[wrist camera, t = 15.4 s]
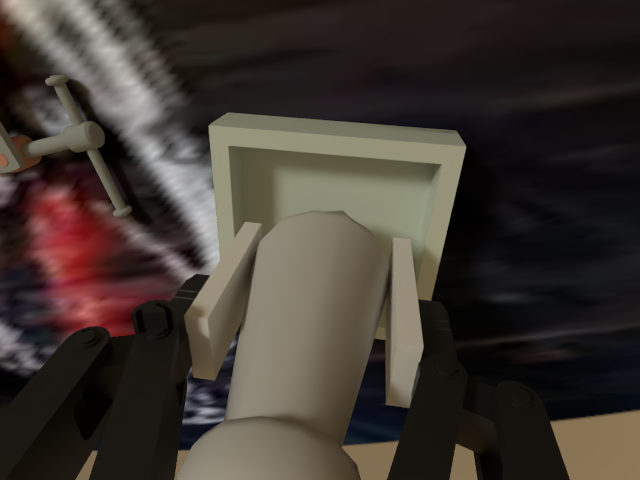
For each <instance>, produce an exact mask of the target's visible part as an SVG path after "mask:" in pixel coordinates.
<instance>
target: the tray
mask: <svg viewBox="0 0 640 480" xmlns="http://www.w3.org/2000/svg"><path fill="white" fill-rule="evenodd" d="M209 136H210V147H211V159H212V170H213V181H214V193H215V204H216V215H217V227H218V238H219V249H220V260H221V258H222V257H223V255H224V254H225V252H226V251H227V249H228V248H229V246H230V245H231V243H232V241H233V240H234V238H235V237H236V235H237V234H238V232H239V231H240V229H241V228H242V226H243V225H244V223H245V222H251V223H261V224H262V239H263V238H264V237H265V236H266V235H267V234H268V233H269V232H270V231H271V230H272V229H273V228H274V227H275V226H276V225H277V224H278V223H279V222H280V221H281V220H282V219H283V218H284V217H288V216H292V215H296V214H300V213H304V212H308V211H312V210H318V211H344V212H345V213H346V214H347V215H348V216H349V217H350V218H352V219H353V220H355V221H356V222H358V223H360V224H361V225H363V226H364V227H366V228H367V229H369V230H370V231H372V233H373V234H374V236H375V237H376V239H377V241H378V242H379V244H380V245H381V247H382V248H383V250H384V252H385V253H386V255H387V258H388V262H389V258H390V252H391V246H392V239H393V237H395V238H404V239H410V240H411V248H412V257H413V265H414V273H415V281H416V289H417V297H418V299H421V300H429V301H431V298H432V294H433V290H434V285H435V281H436V277H437V272H438V268H439V264H440V259H441V255H442V251H443V246H444V242H445V238H446V233H447V229H448V225H449V220H450V216H451V211H452V207H453V203H454V198H455V194H456V190H457V185H458V181H459V177H460V172H461V168H462V164H463V159H464V155H465V151H466V145H465V144H464V142H463V140H462V139H461V137H460V136H459V134H458V133H457V131H454V130H441V129H429V128H416V127H403V126H391V125H378V124H366V123H353V122H340V121H328V120H315V119H302V118H290V117H277V116H265V115H252V114H239V113H227V114H225V115H224V116H222V117H220V118H219V119H217V120H216V121H214V122H213V123H211V124H210V125H209ZM241 322H242V321H241ZM375 339H383V340H385V305H384V308H383V311H382V315H381V318H380V321H379V325H378V328H377V331H376V335H375Z"/></svg>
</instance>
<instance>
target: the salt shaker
mask: <svg viewBox="0 0 640 480" xmlns="http://www.w3.org/2000/svg"><path fill="white" fill-rule="evenodd" d="M388 291H389V262H388V258H387V255H386V253H385V252H384V250H383V248H382V247H381V245H380V244H379V242H378V241H377V239H376V237H375V236H374V234H373V233H372V231H370V230H369V229H367V228H366V227H364V226H363V225H361V224H360V223H358V222H356V221H355V220H353V219H352V218H350V217H349V216H348V215H347V214H346V213H345V212H344V211H318V210H312V211H308V212H304V213H300V214H296V215H292V216H288V217H284V218H283V219H282V220H281V221H280V222H279V223H278V224H277V225H276V226H275V227H274V228H273V229H272V230H271V231H270V232H269V233H268V234H267V235H266V236H265V237H264V238H263V239H262V240H261V241H260V243H259V246H258V249H257V252H256V255H255V258H254V261H253V264H252V268H251V273H250V279H249V284H248V290H247V296H246V301H245V307H244V312H243V318H242V324H241V329H240V335H239V340H238V346H237V352H236V357H235V363H234V368H233V374H232V380H231V385H230V391H229V396H228V402H227V408H226V413H225V419H224V421H223V422H221V423H220V424H218V425H217V426H215V427H214V428H212V429H211V430H209V431H208V432H206V433H205V434H203V435H202V436H201V437H200V438H199V440H198V441H197V442H196V443H195V444H194V445H193V446H192V448H191V450H190V452H189V454H188V456H187V458H186V459H185V462H184V463H183V465H182V467H181V469H180V471H179V473H178V476H177V479H176V480H361V478H360V475H359V471H358V467H357V465H356V463H355V462H354V461H353V460H352V459H351V458H350V456H348V454H347V453H346V452H345V451H344V450H343V449H342V445H343V441H344V438H345V435H346V431H347V428H348V425H349V421H350V418H351V415H352V411H353V408H354V405H355V401H356V398H357V395H358V391H359V388H360V385H361V381H362V378H363V375H364V371H365V368H366V365H367V361H368V358H369V355H370V351H371V348H372V345H373V341H374V338H375V335H376V331H377V328H378V325H379V321H380V318H381V315H382V311H383V308H384V305H385V301H386V298H387V295H388Z"/></svg>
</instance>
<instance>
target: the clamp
mask: <svg viewBox="0 0 640 480" xmlns="http://www.w3.org/2000/svg"><path fill="white" fill-rule="evenodd" d="M50 77H51V78H48V79H46V84H47V85H48V86H54V88H55V90H56V92H57V94H58V96H59V98H60V100H61V102H62V104H63V106H64V108H65V110H66V112H67V114H68V116H69V118H70V120H71V122H72V124H73V125H72V126H68V127H66V128H65V129H64V132H63V134H60V135H56V136H52V137H48V138H44V139H40V140H36V141H32V139H31V138H30V137H28V136H25V135H17V136H14V137H11V138H10V137H9V135H8V134H7V132H6V130H5V129H4V127H3V125H2V124H1V122H0V173H7V172H13V173H16V172H20V171H22V170H24V169H26V168H28V167H31V166H33V165H35V164H37V163H39V162H40V160H41V156H43V155H47V154H51V153H55V152H60V151H64V150H68V149H71V150H72V151H74V152H83V151H87V153H88V155H89V157H90V159H91V161H92V163H93V165H94V167H95V169H96V171H97V173H98V175H99V177H100V179H101V181H102V183H103V185H104V187H105V189H106V191H107V193H108V195H109V197H110V199H111V200H112V202H113V204H114V206H115V208H116V210H115V211H114V212H113V215H114V216H115V217H121V216H126V215H127V214H129V213H130V212H131V211H132V207H131V206H126V205H125V203H124V201H123V199H122V197H121V195H120V193H119V191H118V189H117V187H116V185H115V183H114V181H113V179H112V177H111V175H110V173H109V171H108V169H107V167H106V165H105V163H104V161H103V159H102V157H101V155H100V153H99V151H98V149H97V148H99V147H102V146H103V145H104V142H105V135H104V132H103V130H102V128H101V127H100V126H99V125H98V124H96V123H95V122H93V121H88V122H84V120H83V118H82V116H81V114H80V112H79V110H78V108H77V106H76V104H75V102H74V100H73V98H72V96H71V94H70V92H69V90H68V88H67V86H66V84H65V82H68V80H69V78H68V77H67V76H66V75H59V74H57V75H53V76H50Z"/></svg>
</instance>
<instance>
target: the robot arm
mask: <svg viewBox="0 0 640 480" xmlns="http://www.w3.org/2000/svg"><path fill="white" fill-rule="evenodd" d="M261 240H262V224H261V223H251V222H245V223H244V225H243V226H242V228H241V229H240V231H239V232H238V234H237V235H236V237H235V238H234V240H233V241H232V243H231V245H230V246H229V248H228V249H227V251H226V252H225V254H224V255H223V257H222V258H221V260H220V262H219V263H218V265H217V266H216V268H215V269H214V271H213V272H212V274H211V275H210V276H209V275H201V274H196V275H194V276H193V277H191V278H190V279H188V280H186V282H185V283H184V284H183V286H182V287H181V288H180V291H178V293H177V294H176V295H175V298H173V299H172V301H171V302H168V301H165V300H154V301H148V302H146V303H143V304H141V305H139V306H138V307H137V308H135V309H134V311H133V312H132V314H131V316H132V321H133V325H134V329H135V333H136V334H134V335H128V336H119V337H110V333H109V331H108V330H107V329H106V328H103V327H99V326H96V327H87V328H84V329H81V330H79V331H77V332H75V333H73V334H72V335H70V336H69V337H68V338H67V339H66V340H65V341H64V342H63V344H62V345H61V346H60V347H59V348H58V349H57V350H56V351H55V353H54V354H53V355H52V356H51V357H50V358H49V359H48V361H47V362H46V363H45V364H44V365H43V366H42V367H41V369H40V370H39V371H38V372H37V373H36V374H35V375H34V377H33V378H32V379H31V380H30V381H29V382H28V383H27V384H26V386H25V387H24V388H23V389H22V390H21V391H20V392H19V394H18V395H17V396H16V397H15V398H14V399H13V400H12V402H11V403H10V404H9V405H8V406H7V407H6V408H5V410H4V411H3V412H2V413H1V414H0V480H75V479H76V477H77V476H78V474H79V472H80V471H81V469H82V467H83V465H84V464H85V462H86V461H87V459H88V457H89V456H90V454H91V452H92V451H93V449H94V447H95V446H96V444H97V442H98V441H99V439H100V437H101V436H102V434H103V432H104V434H103V437H102V440H101V444H100V447H99V450H98V453H97V456H96V459H95V462H94V465H93V468H92V471H91V475H90V478H89V480H174V476H175V469H176V462H177V455H178V448H179V441H180V434H181V427H182V420H183V413H184V406H185V399H186V392H187V379H186V376H187V374H188V372H189V370H190V368H191V366H192V371H193V377H194V378H201V379H209V380H215V379H216V376H217V374H218V372H219V370H220V367H221V365H222V363H223V361H224V359H225V356H226V354H227V352H228V350H229V348H230V345H231V343H232V341H233V339H234V337H235V334H236V332H237V330H238V328H239V326H240V323H241V321H242V318H243V312H244V307H245V301H246V296H247V290H248V284H249V279H250V273H251V268H252V264H253V261H254V258H255V255H256V252H257V249H258V246H259V243H260V241H261ZM385 345H386V405H392V406H399V407H406V408H409V407H410V408H409V411H408V414H407V418H406V421H405V424H404V427H403V430H402V434H401V437H400V440H399V443H398V446H397V450H396V453H395V456H394V459H393V463H392V466H391V469H390V472H389V475H388V478H387V480H449V478H450V473H451V467H452V462H453V456H454V450H455V445H456V444H459V445H461V446H463V447H465V448H468V449H470V450H472V451H474V458H475V465H476V471H477V478H478V480H570V479H569V476H568V473H567V470H566V467H565V464H564V462H563V459H562V456H561V453H560V450H559V447H558V444H557V442H556V438H555V435H554V433H553V430H552V427H551V424H550V421H549V418H548V415H547V412H546V409H545V406H544V404H543V402H542V400H541V398H540V396H539V395H538V394H537V393H536V392H535V391H534V390H533V389H532V388H530V387H528V386H526V385H525V384H523V383H520V382H516V381H508V380H505V381H502V382H500V383H498V384H497V386H496V387H493V386H491V385H488V384H485V383H483V382H480V381H478V380H476V379H474V378H473V377H471V376H470V375H468V374H467V372H466V370H465V368H464V367H463V365H462V364H461V363H459V362H458V358H457V354H456V349H455V344H454V340H453V335H452V331H451V326H450V323H449V317H448V312H447V310H446V309H445V308H444V306H443V305H442V304H441V303H440V302H438V301H429V300H421V299H418V297H417V289H416V281H415V273H414V265H413V257H412V248H411V240H410V239H404V238H395V237H393V239H392V246H391V252H390V258H389V291H388V295H387V298H386V301H385ZM411 399H412V402H411ZM410 403H411V405H410Z"/></svg>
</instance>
